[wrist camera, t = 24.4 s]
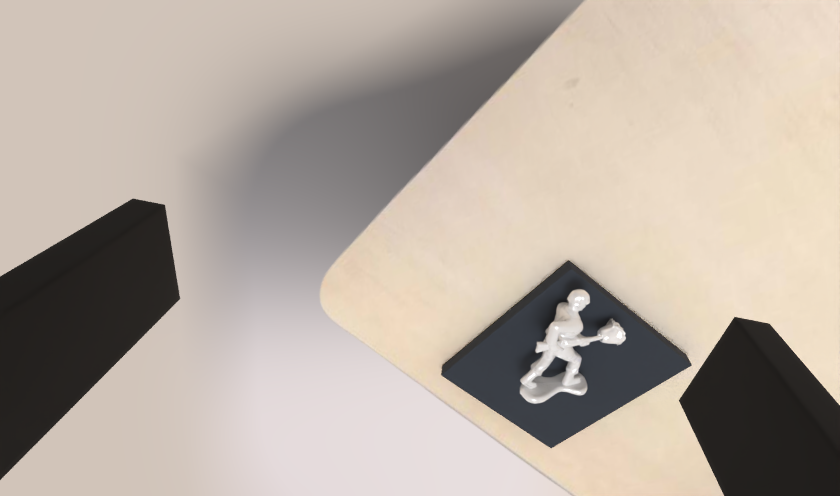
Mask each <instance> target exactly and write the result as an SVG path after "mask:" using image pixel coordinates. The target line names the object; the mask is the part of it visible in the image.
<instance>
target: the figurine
mask: <svg viewBox="0 0 840 496" xmlns="http://www.w3.org/2000/svg"><path fill="white" fill-rule="evenodd" d="M567 300H568V301H569V303H566V302H561V303H559V304H558V305H557V309H556V315H555V320H554V321H553V322H552V323H551V324H550V326H549V327H548V328H547V329H546V331H545V332H546V337H545V339H544V341H543V342H537V346H536V350H535V351H536V353H539V352H542V351H543V354H542V356H541V357H540V358H539V359H538V360H537V361H536V362H534V363H533V364H532V365H531V370H530V371H529V372H528V373H527V374H525V375H524V376H523V377H522V378H521V379H520V382H521V383H522V384H521V386H520V394H521V395H522V396H523V398H524V399H525V400H526V401H528V402H530V403H534V404H537V403H542V402H544V401H546V400H548V399H549V398H551V397H552V396H553V395H555V394H556V393H558V392H568V393H572V394H575V395H584V394H585V393H586V391H587V382H586V380H585V378H584V376H583V375H582V374H580V373H579V372H578V371H579V367H580V364H581V360H582V358H581V356H580V354H579V353H578V352H576V351H575V350H574V349H573V346H577V345H580V346H581V347H582V346H587V345H589V343H590V342H593V341H597V340H600V341H601V342H602V343H607V344H617V346H618V344H622V342H624V341H625V339H626V337H625V332H624V331H623V328H622V327H620V325H619V323H617V322H615V320H613V318H612V319H610V320H609V321H608V322H607V324H606V325H605V326H603V327H601V328H600V329H599V330H598V331H597V336H593V337H589V336H588V337H586V336H583V335H581V334H580V332H582V330H583V323H582V321H581V318H580V316H579V313H578V312H579V311H582V310H583V309H584V308H585V307H586V305H587V304H589V303H590V296H589V294H588V293H587V292H586V291H585V290H582V289H576V290H573V291H572V292H571V293H570V294H569V296H568V298H567ZM556 356H557V357H559V358H561V359H563V360H566V361H568V364H567V366H566V371H565V372H562V373H560V374H558V375H556V376H554V377H542V376H541V375H542V373H543V371H544V370H546V369H547V367H548V366H549V365H550V364H551V362H552V361H553V359H554V358H555V357H556Z"/></svg>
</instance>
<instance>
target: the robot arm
mask: <svg viewBox="0 0 840 496" xmlns="http://www.w3.org/2000/svg"><path fill="white" fill-rule="evenodd" d="M179 299H180V296H179V290H178V284H177V278H176V271H175V265H174V259H173V253H172V247H171V241H170V234H169V229H168V222H167V216H166V210H165V205H163V204H158V203H152V202H147V201H142V200H136V199H132V200H130V201H128V202H126V203H125V204H123V205H122V206H120V207H118V208H116V209H115V210H113V211H111V212H109V213H108V214H106V215H104V216H103V217H101V218H99V219H97V220H96V221H94V222H92V223H91V224H89V225H87V226H86V227H84V228H82V229H80V230H79V231H77V232H75V233H74V234H72V235H70V236H69V237H67V238H65V239H64V240H62V241H60V242H58V243H57V244H55V245H53V246H51V247H50V248H48V249H46V250H45V251H43V252H41V253H40V254H38V255H36V256H34V257H33V258H31V259H29V260H28V261H26V262H24V263H23V264H21V265H19V266H17V267H16V268H14V269H12V270H11V271H9V272H7V273H6V274H4V275H2V276H1V277H0V480H1V479H2V477H3V476H5V474H7V473H8V472H9V471H10V469H12V467H13V466H14V465H15V464H16V463H17V462H18V461H19V460H20V459H21V458H22V457H23V456H24V455H25V454H26V453H27V452H28V451H29V450H30V449H31V448H32V447H33V446H34V445H35V444H36V443H37V442H38V441H39V440H40V439H41V438H42V437H43V436H44V435H45V434H46V433H47V432H48V431H49V430H50V429H51V428H52V427H53V426H54V425H55V424H56V423H57V422H58V421H59V420H60V419H61V418H62V417H63V416H64V415H65V414H66V413H67V412H68V411H69V410H70V409H71V408H72V407H73V406H74V405H75V404H76V403H77V402H78V401H79V400H80V399H81V398H82V397H83V396H84V395H85V394H86V393H87V392H88V391H89V390H90V389H91V388H92V387H93V386H94V385H95V384H96V383H97V382H98V381H99V380H100V379H101V378H102V377H103V376H104V375H105V374H106V373H107V372H108V371H109V370H110V369H111V368H112V367H113V366H114V365H115V364H116V363H117V362H118V361H119V360H120V359H121V358H122V357H123V356H124V355H125V354H126V353H127V351H129V350H130V349H131V348H132V347H133V346H134V345H135V344H136V343H137V342H138V341H139V340H140V339H141V338H142V337H143V336H144V334H145V333H147V331H149V329H151V328H152V326H153V325H155V323H157V322H158V320H160V318H161V317H162V316H163V315H164V314H165V313H166V312H167V311H168V310H169V309H170V308H171V307H172V306H173V305H174V304H175V303H176V302H177V301H178V300H179ZM679 402H680V404H681V406H682V408H683V410H684V412H685V414H686V416H687V418H688V420H689V423H690V425H691V427H692V429H693V431H694V433H695V435H696V437H697V439H698V442H699V444H700V446H701V448H702V450H703V452H704V454H705V456H706V458H707V460H708V463H709V465H710V467H711V469H712V471H713V473H714V475H715V477H716V479H717V481H718V484H719V486H720V488H721V490H722V492H723V494H724V496H840V405H839V404H838V403H837V402H836V401H835V400H834V398H833V397H832V396H831V395H830V394H829V393H828V391H827V390H826V389H825V388H824V387H823V386H822V384H821V383H820V382H819V381H818V380H817V379H816V377H815V376H814V375H813V374H812V373H811V372H810V370H809V369H808V368H807V367H806V366H805V365H804V363H803V362H802V361H801V360H800V359H799V358H798V357H797V355H796V354H795V353H794V352H793V351H792V350H791V348H790V347H789V346H788V345H787V344H786V343H785V341H784V340H783V339H782V338H781V337H780V336H779V334H778V333H777V332H776V331H775V330H774V329H773V327H772V326H771V325H770V324H768V323H763V322H758V321H753V320H747V319H742V318H737V317H734V319H733V320H732V322H731V323H730V325H729V326H728V328H727V329H726V331H725V332H724V334H723V335H722V337H721V338H720V340H719V341H718V343H717V344H716V346H715V347H714V349H713V350H712V352H711V353H710V355H709V356H708V358H707V359H706V361H705V362H704V364H703V365H702V367H701V368H700V370H699V371H698V373H697V374H696V376H695V377H694V379H693V380H692V382H691V383H690V385H689V386H688V388H687V389H686V391H685V392H684V394H683V395H682V397H681V398H680V400H679Z"/></svg>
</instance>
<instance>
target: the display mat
mask: <svg viewBox="0 0 840 496" xmlns="http://www.w3.org/2000/svg"><path fill="white" fill-rule="evenodd" d="M576 289H582V290H585V291H586V292H587V293H588V294H589V296H590V303H589V304H587V305H586V307H585V308H584V309H583V310H582V311H579V312H578V313H579V316H580V318H581V321H582V323H583V330H582V332H580V334H581V335H583V336H586V337H588V336H589V337H593V336H597V331H598V330H599V329H600V328H601V327H603V326H605V325H606V324H607V322H608V321H609V320H610V319H612V318H613V320H615V322H617V323H619V325H620V327H622V328H623V331H624V332H625V337H626V339H625V341H624V342H622V344H618V346H617V344H607V343H602V342H601V341H600V340H597V341H593V342H590V343H589V345H587V346H582V347H581V346H580V345H577V346H573V349H574V350H575V351H576V352H578V353H579V354H580V356H581V358H582V360H581V364H580V367H579V371H578V372H579V373H580V374H582V375H583V376H584V378H585V380H586V382H587V391H586V393H585V394H584V395H575V394H572V393H568V392H558V393H556V394H555V395H553V396H552V397H551V398H549V399H548V400H546V401H544V402H542V403H537V404H534V403H530V402H528V401H526V400H525V399H524V398H523V396H522V395H521V394H520V386H521V384H522V383H521V382H520V379H521V378H522V377H523V376H524V375H525V374H527V373H528V372H529V371H530V370H531V365H532V364H533V363H534V362H536V361H537V360H538V359H539V358H540V357H541V356H542V354H543V351H542V352H539V353H536V351H535V350H536V346H537V342H543V341H544V339H545V337H546V332H545V331H546V329H547V328H548V327H549V326H550V324H551V323H552V322H553V321H554V320H555V315H556V309H557V305H558V304H559V303H561V302H566V303H569V301H568V300H567V298H568V296H569V294H570V293H571V292H572V291H573V290H576ZM567 364H568V361H566V360H563V359H561V358H559V357H557V356H556V357H555V358H554V359H553V361H552V362H551V364H550V365H549V366H548V367H547V369H546V370H544V371H543V373H542V375H541V376H542V377H554V376H556V375H558V374H560V373H562V372H565V371H566V366H567ZM690 366H691V363H690V361H689V359H688V357H687V356H686V354H684V353H683V352H682V351H681V350H679V349H678V348H677V347H676V346H674V345H673V344H672V343H671V342H669V341H668V340H667V339H666V338H664V337H663V336H662V335H661V334H660V333H658V332H657V331H656V330H655V329H653V328H652V327H651V326H650V325H648V324H647V323H646V322H645V321H643V320H642V319H641V318H640V317H638V316H637V315H636V314H635V313H633V312H632V311H631V310H630V309H628V308H627V307H626V306H625V305H623V304H622V303H621V302H620V301H618V300H617V299H616V298H615V297H614V296H612V295H611V294H610V293H609V292H607V291H606V290H605V289H604V288H602V287H601V286H600V285H599V284H597V283H596V282H595V281H594V280H592V279H591V278H590V277H589V276H587V275H586V274H585V273H584V272H582V271H581V270H580V269H579V268H577V267H576V266H575V265H574V264H572V263H571V262H570V261H568V262H566V263H565V264H564V265H563V266H562V267H560V268H559V269H558V270H557V271H556V272H554V273H553V274H552V275H551V276H550V277H548V278H547V279H546V280H545V281H544V282H542V283H541V284H540V285H539V286H538V287H536V288H535V289H534V290H533V291H532V292H530V293H529V294H528V295H527V296H526V297H524V298H523V299H522V300H521V301H520V302H518V303H517V304H516V305H515V306H514V307H512V308H511V309H510V310H509V311H508V312H506V313H505V314H504V315H503V316H502V317H500V318H499V319H498V320H497V321H496V322H494V323H493V324H492V325H491V326H490V327H488V328H487V329H486V330H485V331H484V332H482V333H481V334H480V335H479V336H478V337H476V338H475V339H474V340H473V341H472V342H470V343H469V344H468V345H467V346H466V347H464V348H463V349H462V350H461V351H460V352H458V353H457V354H456V355H455V356H454V357H452V358H451V359H450V360H449V361H448V362H446V363H445V364H444V365H443V366H442V373H441V375H442V376H443V377H445V378H446V379H448V380H449V381H451V382H452V383H454V384H455V385H457V386H458V387H460V388H461V389H463V390H464V391H466V392H467V393H469V394H470V395H472V396H473V397H475V398H476V399H478V400H479V401H481V402H482V403H484V404H485V405H487V406H488V407H490V408H491V409H493V410H494V411H496V412H497V413H499V414H500V415H502V416H503V417H505V418H506V419H508V420H509V421H511V422H512V423H514V424H515V425H517V426H518V427H520V428H521V429H523V430H524V431H526V432H527V433H529V434H530V435H532V436H533V437H535V438H536V439H538V440H539V441H541V442H542V443H544V444H545V445H547V446H548V447H550V448H552V447H554V446H556V445H557V444H559V443H561V442H562V441H564V440H566V439H568V438H569V437H571V436H573V435H574V434H576V433H578V432H579V431H581V430H583V429H585V428H586V427H588V426H590V425H591V424H593V423H595V422H596V421H598V420H600V419H601V418H603V417H605V416H607V415H608V414H610V413H612V412H613V411H615V410H617V409H618V408H620V407H622V406H623V405H625V404H627V403H629V402H630V401H632V400H634V399H635V398H637V397H639V396H640V395H642V394H644V393H646V392H647V391H649V390H651V389H652V388H654V387H656V386H657V385H659V384H661V383H662V382H664V381H666V380H668V379H669V378H671V377H673V376H674V375H676V374H678V373H679V372H681V371H683V370H685V369H686V368H688V367H690Z"/></svg>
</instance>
